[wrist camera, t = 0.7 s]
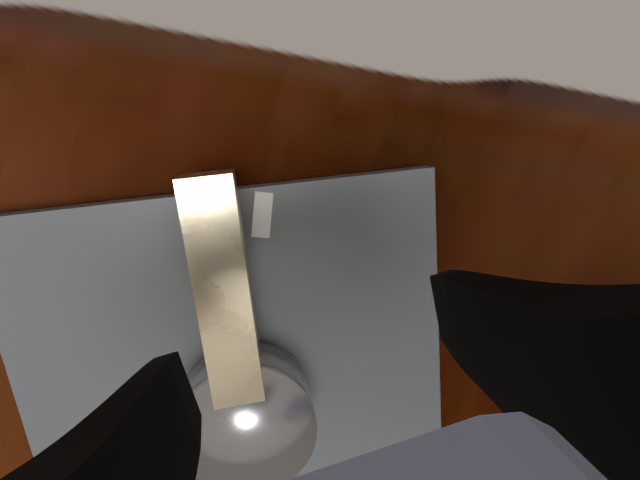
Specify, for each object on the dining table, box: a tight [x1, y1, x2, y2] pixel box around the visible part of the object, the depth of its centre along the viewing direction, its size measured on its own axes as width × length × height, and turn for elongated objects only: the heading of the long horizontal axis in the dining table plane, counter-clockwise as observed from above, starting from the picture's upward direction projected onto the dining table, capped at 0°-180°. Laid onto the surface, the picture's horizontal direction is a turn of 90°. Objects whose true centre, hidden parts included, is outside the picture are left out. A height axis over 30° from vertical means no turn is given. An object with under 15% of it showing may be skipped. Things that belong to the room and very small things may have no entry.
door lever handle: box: [173, 168, 317, 480], centre depth 18 cm, size 14×6×4 cm, turn 6°
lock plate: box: [0, 166, 441, 478], centre depth 21 cm, size 20×20×2 cm
